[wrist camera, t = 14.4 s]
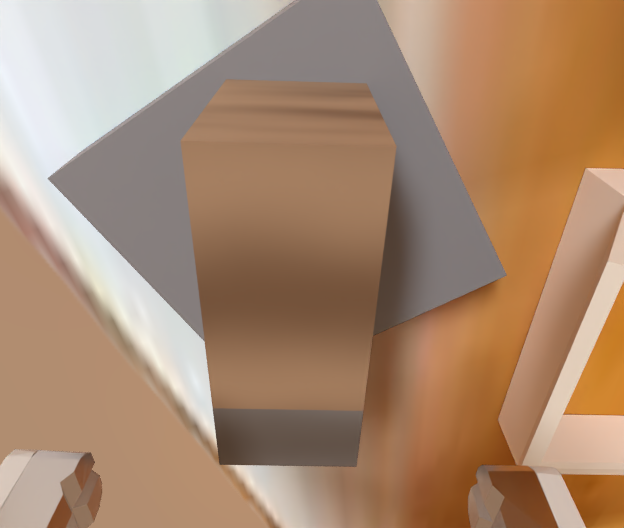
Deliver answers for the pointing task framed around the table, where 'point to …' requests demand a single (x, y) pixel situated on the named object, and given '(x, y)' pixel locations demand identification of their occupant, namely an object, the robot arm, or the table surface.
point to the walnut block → (288, 263)
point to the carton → (571, 340)
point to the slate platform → (307, 68)
